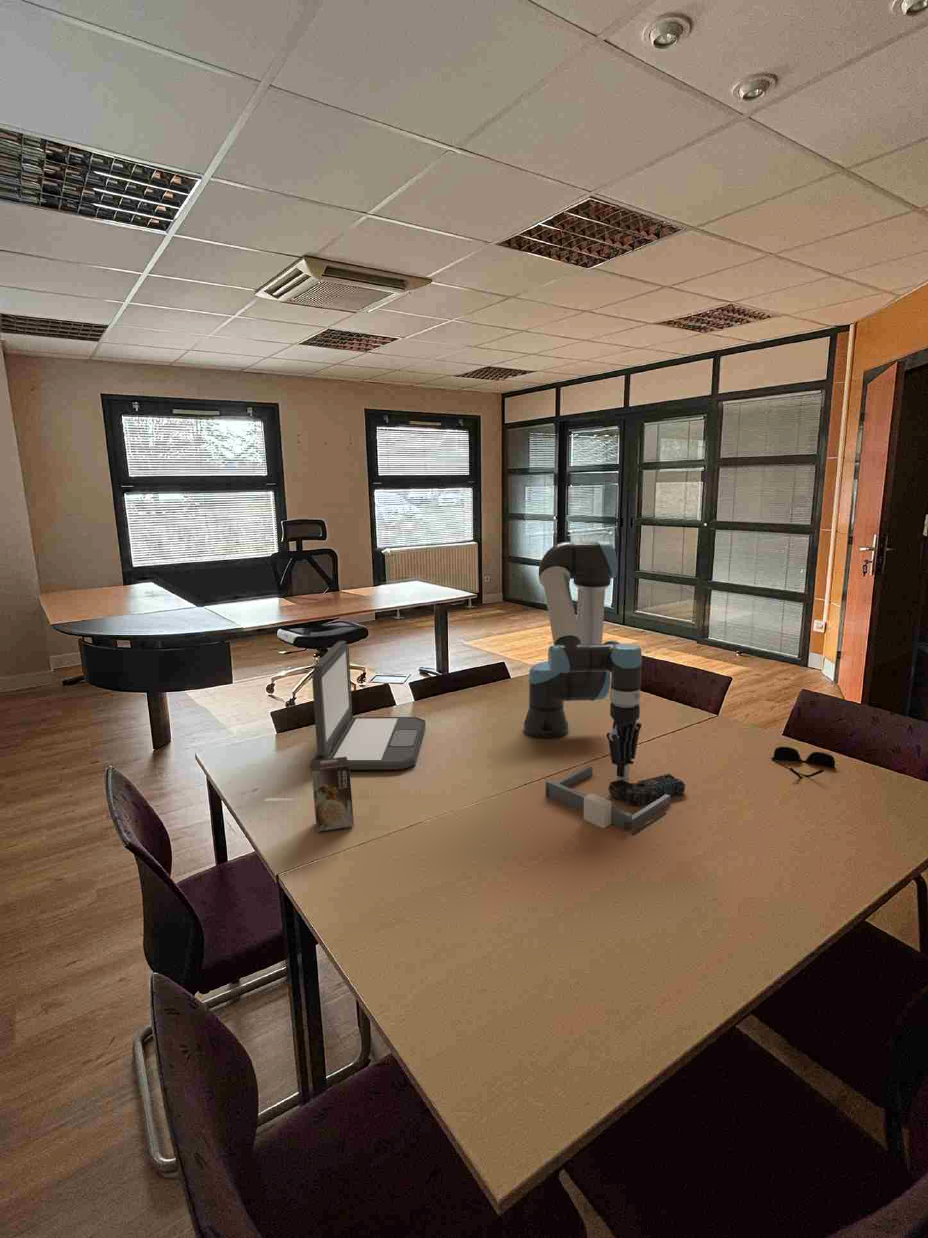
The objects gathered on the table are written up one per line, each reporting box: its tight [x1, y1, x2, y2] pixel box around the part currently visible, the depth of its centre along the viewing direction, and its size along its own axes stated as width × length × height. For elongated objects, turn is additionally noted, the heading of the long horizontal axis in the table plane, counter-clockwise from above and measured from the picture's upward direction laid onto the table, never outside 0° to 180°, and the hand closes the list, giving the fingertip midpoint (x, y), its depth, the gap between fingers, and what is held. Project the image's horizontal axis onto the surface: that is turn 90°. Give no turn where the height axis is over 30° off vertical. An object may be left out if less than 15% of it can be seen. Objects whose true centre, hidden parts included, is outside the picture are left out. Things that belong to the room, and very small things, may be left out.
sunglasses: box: [771, 746, 837, 779], centre depth 178 cm, size 17×14×5 cm
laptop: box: [309, 640, 426, 771], centre depth 201 cm, size 38×31×32 cm
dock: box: [545, 764, 671, 836], centre depth 163 cm, size 28×22×6 cm
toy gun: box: [608, 773, 686, 807], centre depth 167 cm, size 4×19×10 cm
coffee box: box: [310, 757, 355, 832], centre depth 155 cm, size 9×6×16 cm
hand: (622, 786), depth 170 cm, fingers closed
